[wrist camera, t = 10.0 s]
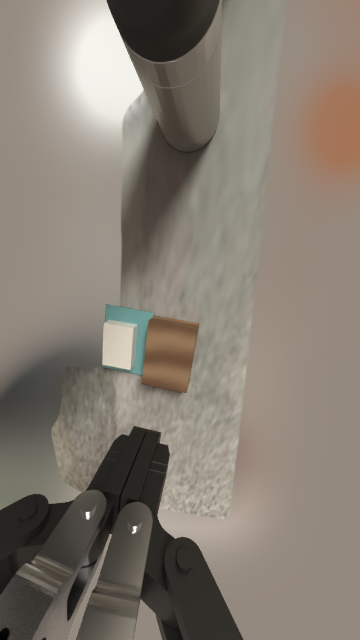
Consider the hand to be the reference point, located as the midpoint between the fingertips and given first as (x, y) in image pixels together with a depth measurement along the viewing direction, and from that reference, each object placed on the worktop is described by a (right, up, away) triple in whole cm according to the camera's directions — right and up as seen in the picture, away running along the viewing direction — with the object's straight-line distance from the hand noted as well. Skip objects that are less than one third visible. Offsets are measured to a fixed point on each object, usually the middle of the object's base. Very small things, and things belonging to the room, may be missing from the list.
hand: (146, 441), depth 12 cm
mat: (-9, +2, +34) cm, 36 cm away
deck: (0, +1, +33) cm, 33 cm away
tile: (-11, +1, +32) cm, 34 cm away
